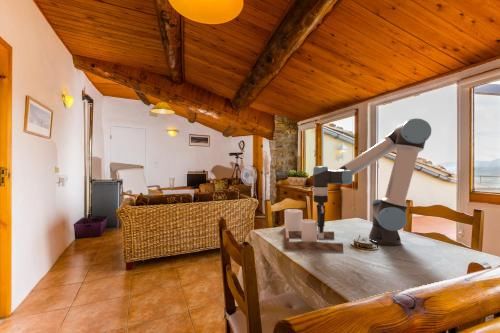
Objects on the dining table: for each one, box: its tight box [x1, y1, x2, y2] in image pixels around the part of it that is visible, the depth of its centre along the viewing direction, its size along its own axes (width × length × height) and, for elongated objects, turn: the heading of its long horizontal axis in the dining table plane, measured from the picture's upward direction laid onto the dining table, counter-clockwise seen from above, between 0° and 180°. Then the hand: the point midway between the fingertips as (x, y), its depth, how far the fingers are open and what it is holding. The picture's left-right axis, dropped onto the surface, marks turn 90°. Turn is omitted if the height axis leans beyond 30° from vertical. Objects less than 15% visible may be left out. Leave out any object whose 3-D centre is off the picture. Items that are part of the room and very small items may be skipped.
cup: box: [284, 208, 304, 231], centre depth 157 cm, size 12×12×12 cm
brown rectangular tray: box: [284, 227, 344, 252], centre depth 129 cm, size 28×21×5 cm
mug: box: [301, 218, 318, 242], centre depth 129 cm, size 12×8×12 cm
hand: (320, 238), depth 129 cm, fingers closed
